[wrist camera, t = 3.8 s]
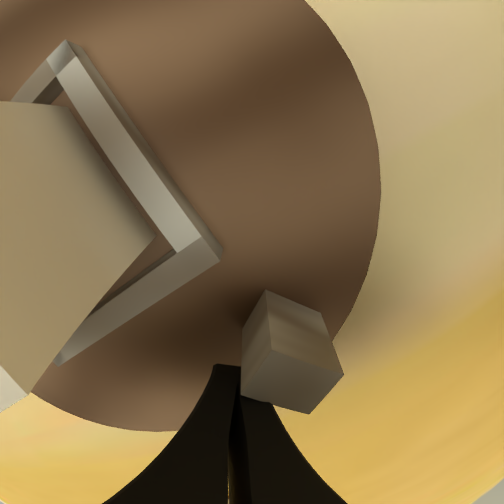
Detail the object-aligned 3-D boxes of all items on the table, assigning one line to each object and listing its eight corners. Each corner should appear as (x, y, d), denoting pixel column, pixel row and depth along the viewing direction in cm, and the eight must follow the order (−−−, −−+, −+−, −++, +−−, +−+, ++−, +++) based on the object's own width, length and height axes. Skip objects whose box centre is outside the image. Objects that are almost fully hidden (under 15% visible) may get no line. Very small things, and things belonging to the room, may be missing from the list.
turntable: (438, 275, 11) (504, 333, 7) (103, 440, 15) (82, 497, 10) (168, -102, 5) (144, -162, 1) (-86, 181, 9) (-137, 200, 5)
